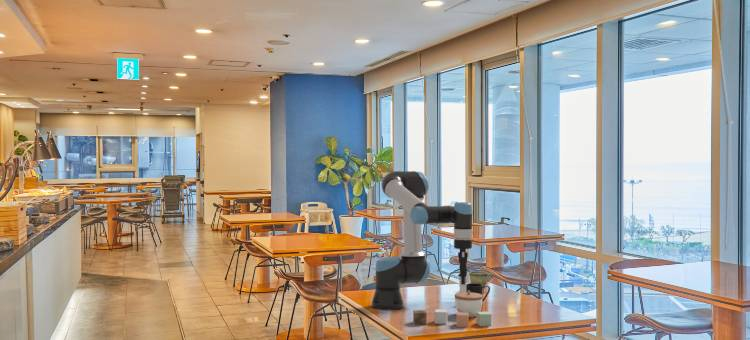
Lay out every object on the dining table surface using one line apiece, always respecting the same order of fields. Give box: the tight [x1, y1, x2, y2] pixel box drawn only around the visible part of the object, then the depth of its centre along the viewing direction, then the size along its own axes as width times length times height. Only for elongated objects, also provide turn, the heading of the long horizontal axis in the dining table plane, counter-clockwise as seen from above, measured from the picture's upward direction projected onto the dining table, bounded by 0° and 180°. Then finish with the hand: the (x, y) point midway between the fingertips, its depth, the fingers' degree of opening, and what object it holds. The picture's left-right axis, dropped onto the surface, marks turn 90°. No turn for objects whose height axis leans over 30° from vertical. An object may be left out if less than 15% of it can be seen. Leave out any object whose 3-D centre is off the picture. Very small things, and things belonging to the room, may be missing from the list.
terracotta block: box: [455, 311, 470, 328], centre depth 269 cm, size 5×5×5 cm
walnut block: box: [412, 309, 427, 326], centre depth 272 cm, size 5×5×5 cm
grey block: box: [434, 308, 449, 325], centre depth 274 cm, size 5×5×5 cm
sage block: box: [475, 311, 492, 327], centre depth 271 cm, size 5×5×5 cm
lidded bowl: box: [454, 290, 484, 318], centre depth 288 cm, size 13×13×11 cm
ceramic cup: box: [468, 270, 494, 292], centre depth 347 cm, size 13×10×10 cm
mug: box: [466, 283, 491, 304], centre depth 312 cm, size 8×12×10 cm
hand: (462, 289), depth 269 cm, fingers open, 13 cm apart
